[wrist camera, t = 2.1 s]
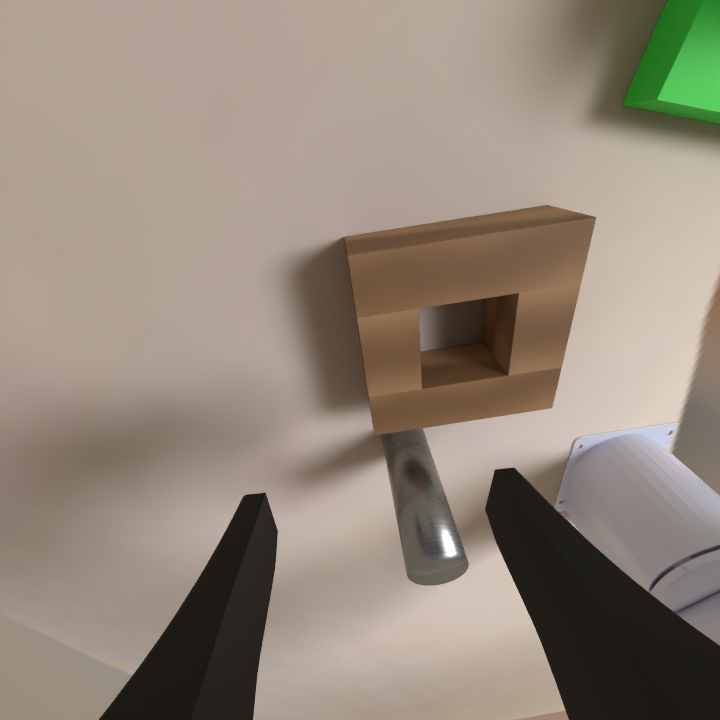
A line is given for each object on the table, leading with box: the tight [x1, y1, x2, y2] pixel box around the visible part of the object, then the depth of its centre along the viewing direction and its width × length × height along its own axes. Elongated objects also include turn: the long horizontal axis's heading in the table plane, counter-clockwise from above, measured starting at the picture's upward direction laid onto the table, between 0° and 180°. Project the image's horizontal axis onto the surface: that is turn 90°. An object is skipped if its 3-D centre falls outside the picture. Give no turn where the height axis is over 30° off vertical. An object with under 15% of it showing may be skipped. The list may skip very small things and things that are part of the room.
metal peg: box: [382, 428, 469, 585], centre depth 20 cm, size 3×3×9 cm
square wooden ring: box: [344, 205, 596, 435], centre depth 17 cm, size 10×10×4 cm
